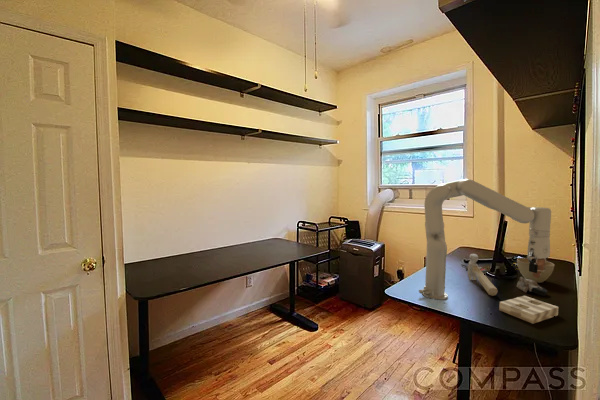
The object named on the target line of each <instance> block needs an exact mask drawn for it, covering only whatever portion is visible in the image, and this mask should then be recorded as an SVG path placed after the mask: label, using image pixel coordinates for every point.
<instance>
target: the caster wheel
mask: <svg viewBox="0 0 600 400" xmlns="http://www.w3.org/2000/svg"><path fill="white" fill-rule="evenodd" d="M516 287H517V288H518V289H519V290H521V291H522V292H524V293H525V294H526V293H527V292H528V291H529V292H532V293H534V294H536V295H539V296H543V297H545V296H547V294H548V290H547V289H546V288H545V287H543V286H542V285H539V284H538V282H535V281H533V280H529V279H525V278H524V277H523V276H520V277H519V279H518V281H517V283H516Z"/></svg>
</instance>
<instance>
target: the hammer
mask: <svg viewBox="0 0 600 400" xmlns="http://www.w3.org/2000/svg"><path fill="white" fill-rule="evenodd" d="M478 260H479V256H478V254H476V253H470V254H469V261H468V263H467V264H468V265H467V266H468V271H467V277H468V280H469V281H472V280H473V281H477V280H478V281H479V282H480V285H481V286H482V287H483V289H484V290H485V292H486V293H487V294H488V296H492V297H493V296H497V294H498V292H499V291H498V288H497V287H496V286H495V285H494V284H493V283H492V281H491V280H490V279H489V278H488V277H487V275H486V274H485V275H484V273H483V272H482V271H481V270H480V269H479V268H480V267H479V265H478V264H477V262H478Z"/></svg>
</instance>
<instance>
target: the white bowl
mask: <svg viewBox="0 0 600 400" xmlns="http://www.w3.org/2000/svg"><path fill="white" fill-rule="evenodd" d="M516 263H517V264H518V266H517V269H519V270H518V271H519V272H520V274H521V275H522V277H523V278H524V279H529V280H533V281H535V282H536V283H537V284H538V283H544V281H546V280H548V279H549V277H551V275H552V273H553V272H554V268H555V264H554V263H553V262H550V261H548V260H546V263H545V271H543V272H541V276H540V277H539V278H535V277H533V275H532V274H533V272H530V271H529V260H528V258H527V257H518V258H517V259H516Z"/></svg>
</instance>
